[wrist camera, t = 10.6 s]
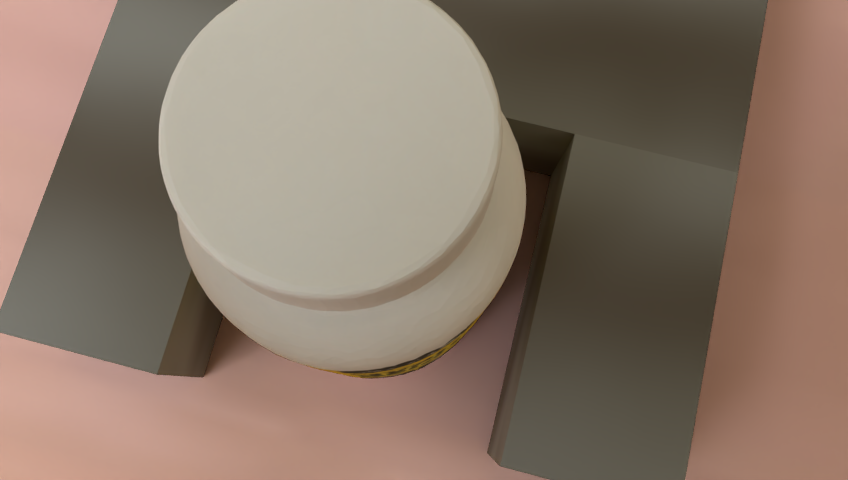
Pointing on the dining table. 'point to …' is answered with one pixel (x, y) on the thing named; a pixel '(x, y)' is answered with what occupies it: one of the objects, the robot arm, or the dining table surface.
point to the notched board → (556, 240)
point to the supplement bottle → (343, 179)
